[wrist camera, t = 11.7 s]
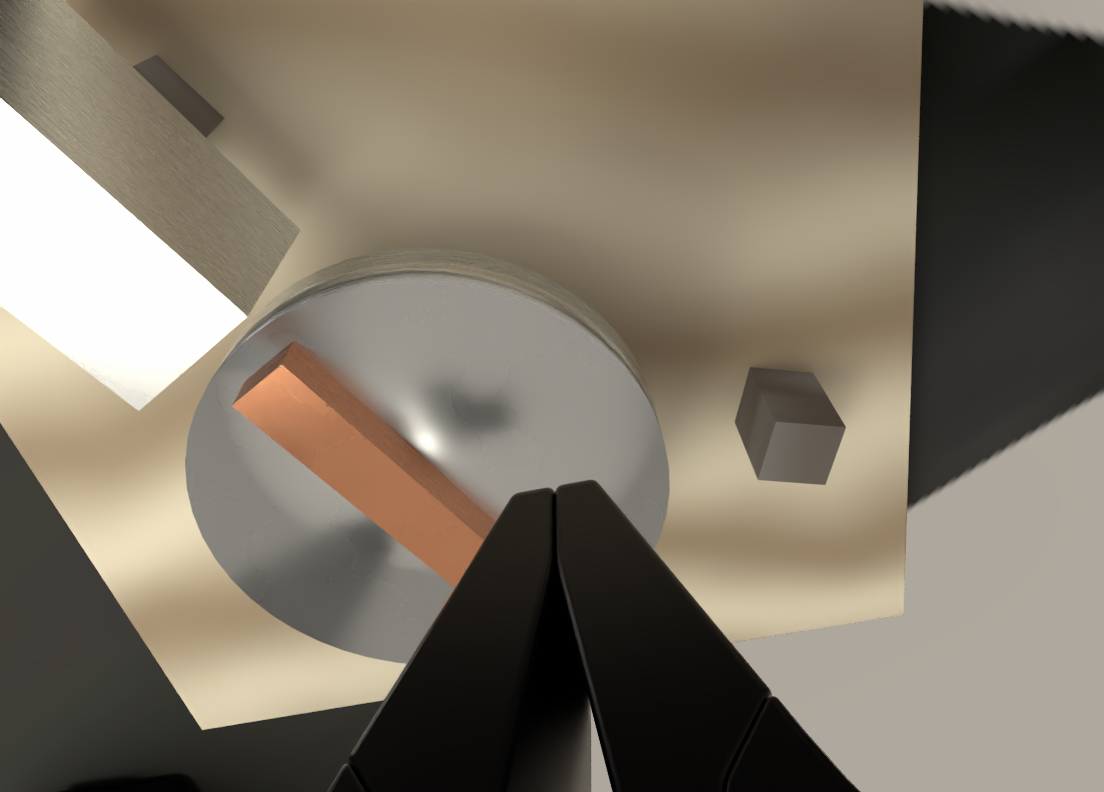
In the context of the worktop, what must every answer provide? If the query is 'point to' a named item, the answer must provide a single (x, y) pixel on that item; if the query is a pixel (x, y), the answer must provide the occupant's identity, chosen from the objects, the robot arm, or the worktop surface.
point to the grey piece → (302, 353)
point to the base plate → (562, 256)
